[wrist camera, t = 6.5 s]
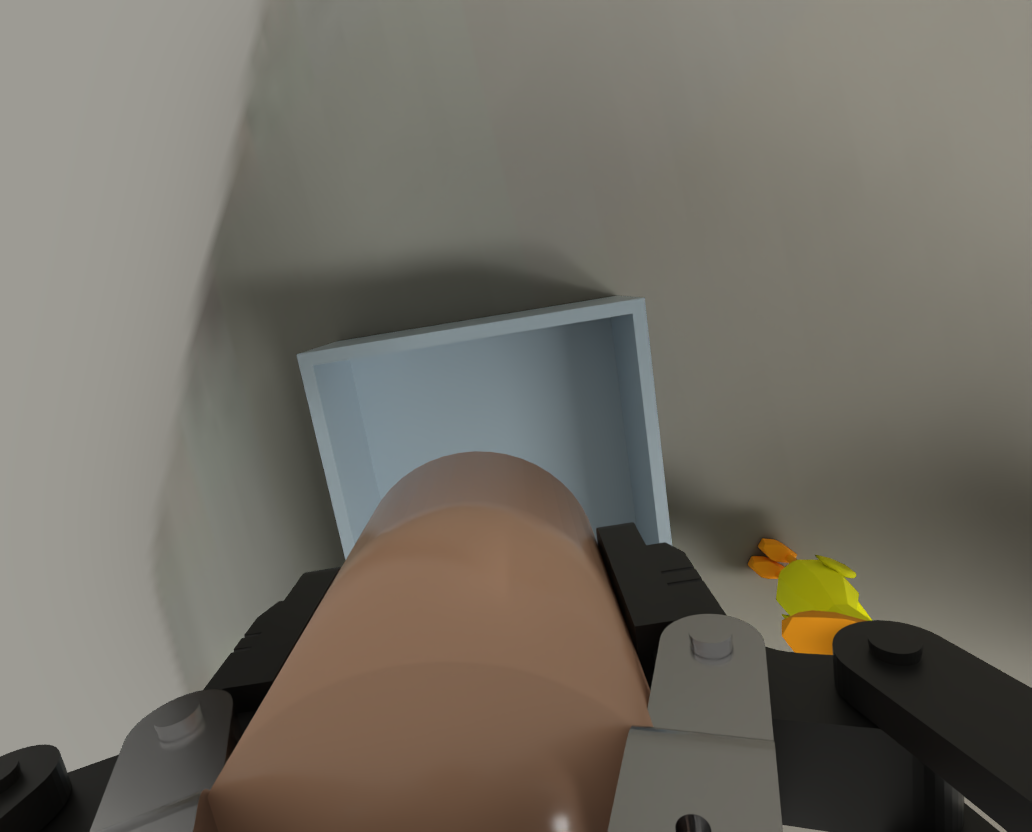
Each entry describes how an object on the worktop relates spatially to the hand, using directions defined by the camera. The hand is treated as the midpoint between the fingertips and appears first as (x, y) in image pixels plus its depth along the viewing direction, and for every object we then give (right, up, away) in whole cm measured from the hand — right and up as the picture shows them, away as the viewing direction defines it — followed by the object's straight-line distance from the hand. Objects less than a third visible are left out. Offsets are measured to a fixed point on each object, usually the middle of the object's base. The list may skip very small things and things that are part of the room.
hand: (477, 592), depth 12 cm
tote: (0, 0, +17) cm, 17 cm away
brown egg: (0, 0, +1) cm, 1 cm away
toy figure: (+14, -4, +19) cm, 23 cm away
